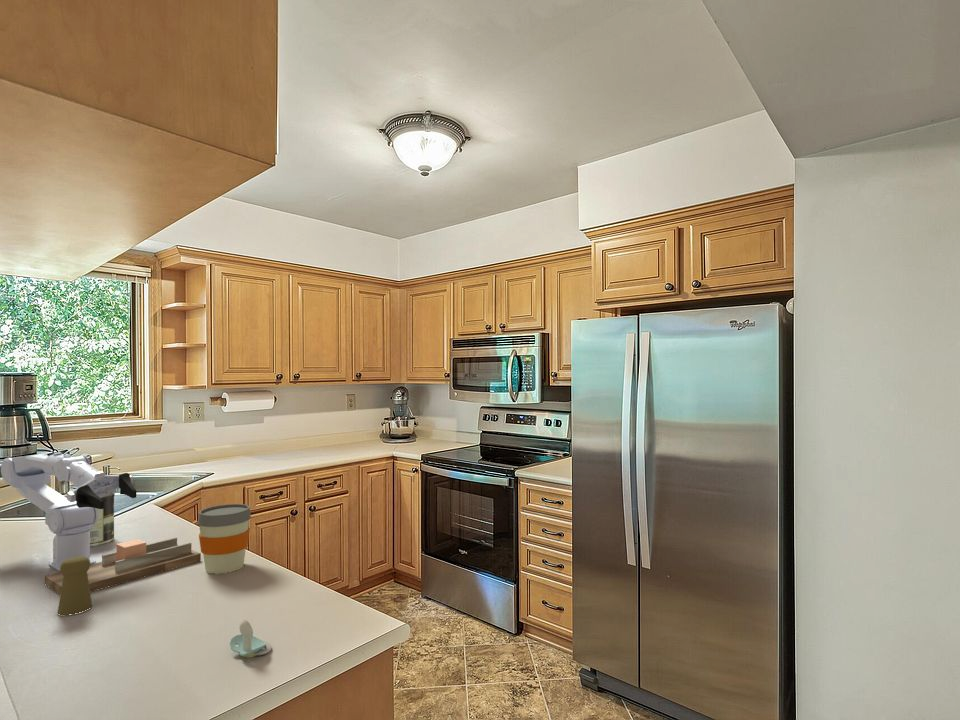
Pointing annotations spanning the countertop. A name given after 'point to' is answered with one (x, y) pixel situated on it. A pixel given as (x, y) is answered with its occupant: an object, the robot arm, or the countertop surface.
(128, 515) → the countertop surface
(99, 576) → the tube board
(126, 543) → the block
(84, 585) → the cork
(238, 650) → the pacifier
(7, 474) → the robot arm
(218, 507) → the reusable coffee cup
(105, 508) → the coffee can
